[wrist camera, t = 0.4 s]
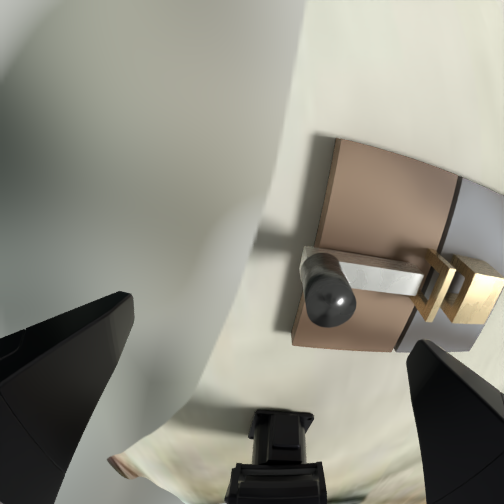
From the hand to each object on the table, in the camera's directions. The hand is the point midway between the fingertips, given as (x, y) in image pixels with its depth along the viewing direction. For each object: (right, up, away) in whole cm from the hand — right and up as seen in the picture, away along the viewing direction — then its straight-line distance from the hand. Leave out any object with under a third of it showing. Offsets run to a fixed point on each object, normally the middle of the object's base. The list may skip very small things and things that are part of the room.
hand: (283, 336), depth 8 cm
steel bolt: (+6, +2, +10) cm, 12 cm away
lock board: (+13, +1, +11) cm, 17 cm away
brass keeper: (+14, 0, +10) cm, 17 cm away
